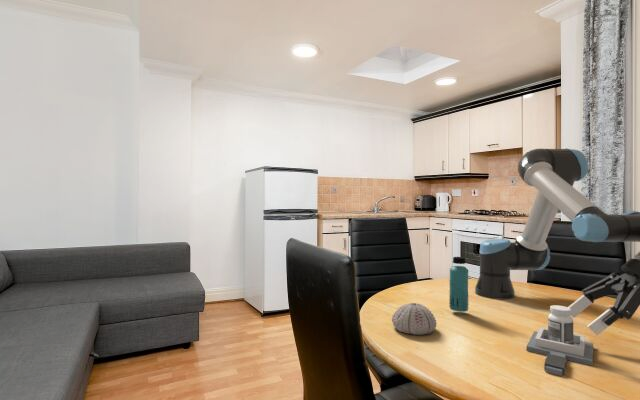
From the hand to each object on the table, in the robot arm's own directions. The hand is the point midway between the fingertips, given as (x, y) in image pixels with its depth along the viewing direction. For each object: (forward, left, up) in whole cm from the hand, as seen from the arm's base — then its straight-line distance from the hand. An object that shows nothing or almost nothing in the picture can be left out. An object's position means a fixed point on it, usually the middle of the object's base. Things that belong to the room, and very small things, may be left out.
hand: (579, 321), depth 95 cm
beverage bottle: (-35, +13, -8) cm, 38 cm away
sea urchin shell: (-41, -12, -8) cm, 44 cm away
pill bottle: (-4, -1, -7) cm, 8 cm away
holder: (-4, -7, -8) cm, 11 cm away
